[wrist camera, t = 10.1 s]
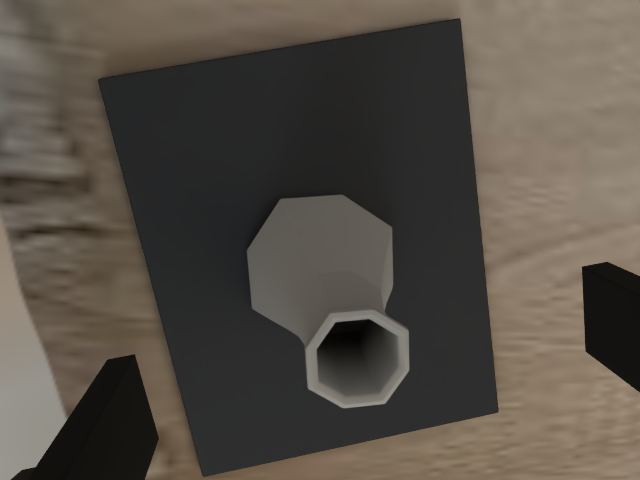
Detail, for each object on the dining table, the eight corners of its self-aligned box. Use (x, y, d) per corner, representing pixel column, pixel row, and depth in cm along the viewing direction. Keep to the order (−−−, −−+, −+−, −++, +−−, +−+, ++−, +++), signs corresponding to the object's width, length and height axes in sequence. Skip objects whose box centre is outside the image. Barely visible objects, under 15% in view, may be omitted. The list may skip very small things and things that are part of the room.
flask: (265, 174, 23) (266, 211, 14) (413, 212, 24) (512, 272, 15) (229, 319, 25) (207, 447, 15) (371, 349, 26) (435, 486, 16)
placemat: (454, 21, 23) (460, 17, 23) (492, 405, 28) (499, 413, 28) (102, 80, 22) (96, 78, 22) (204, 468, 27) (202, 478, 26)
